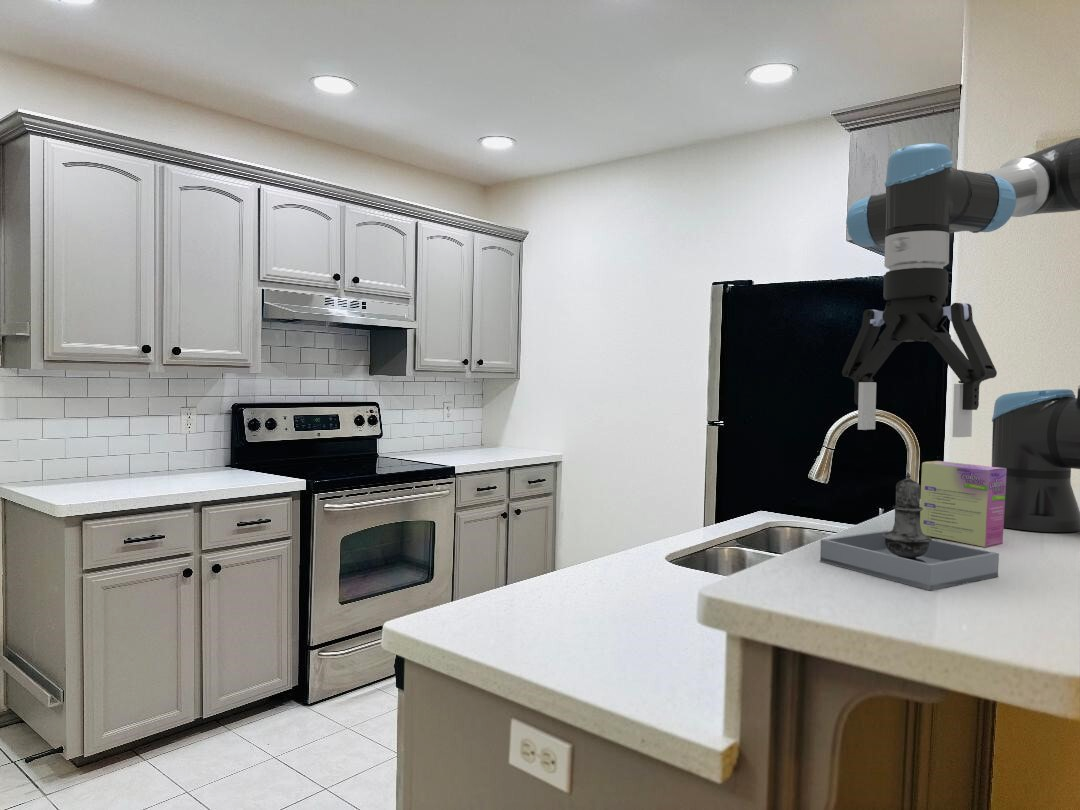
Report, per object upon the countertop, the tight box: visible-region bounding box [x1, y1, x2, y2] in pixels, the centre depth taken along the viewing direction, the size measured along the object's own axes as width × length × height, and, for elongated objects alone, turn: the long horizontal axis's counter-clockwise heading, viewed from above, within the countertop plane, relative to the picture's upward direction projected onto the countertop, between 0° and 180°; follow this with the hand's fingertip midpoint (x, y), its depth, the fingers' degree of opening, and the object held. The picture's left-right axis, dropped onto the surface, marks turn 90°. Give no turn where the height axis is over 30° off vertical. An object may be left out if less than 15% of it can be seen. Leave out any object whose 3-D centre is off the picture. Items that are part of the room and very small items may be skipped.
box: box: [920, 460, 1007, 548], centre depth 121 cm, size 10×6×12 cm, turn 34°
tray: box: [819, 530, 1000, 591], centre depth 102 cm, size 14×16×3 cm
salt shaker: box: [883, 472, 933, 563], centre depth 102 cm, size 6×6×12 cm
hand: (911, 433), depth 101 cm, fingers open, 13 cm apart
